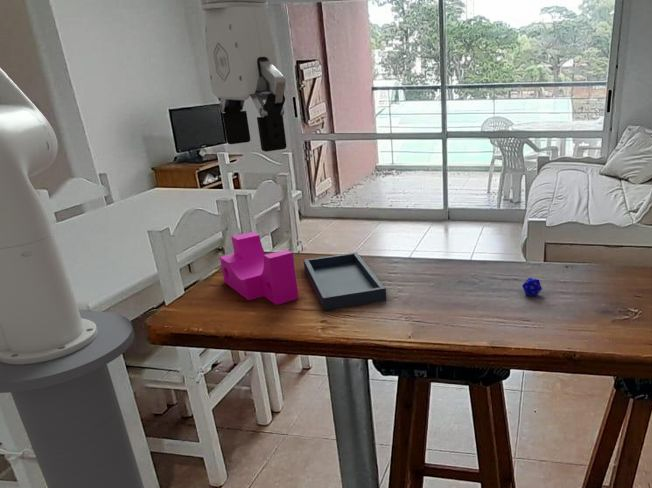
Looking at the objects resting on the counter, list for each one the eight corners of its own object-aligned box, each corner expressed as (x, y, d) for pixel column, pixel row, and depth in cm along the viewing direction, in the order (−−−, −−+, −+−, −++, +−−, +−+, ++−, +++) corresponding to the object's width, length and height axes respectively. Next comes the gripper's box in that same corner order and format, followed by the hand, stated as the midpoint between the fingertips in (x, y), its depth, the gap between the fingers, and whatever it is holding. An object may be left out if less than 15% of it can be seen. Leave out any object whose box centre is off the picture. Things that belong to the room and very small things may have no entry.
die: (523, 299, 86) (517, 280, 87) (530, 299, 89) (524, 281, 89) (539, 293, 85) (533, 274, 86) (546, 293, 87) (540, 275, 88)
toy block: (224, 282, 96) (216, 239, 93) (259, 273, 100) (252, 231, 97) (260, 309, 86) (253, 262, 82) (298, 298, 89) (292, 252, 86)
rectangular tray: (324, 310, 85) (322, 298, 84) (304, 270, 101) (303, 259, 100) (386, 300, 87) (385, 288, 86) (357, 262, 103) (357, 252, 102)
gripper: (174, 1, 71) (201, 143, 78) (236, -13, 59) (261, 157, 66) (231, 2, 75) (251, 137, 82) (300, -10, 63) (316, 149, 71)
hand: (255, 146), depth 74 cm, fingers open, 9 cm apart
